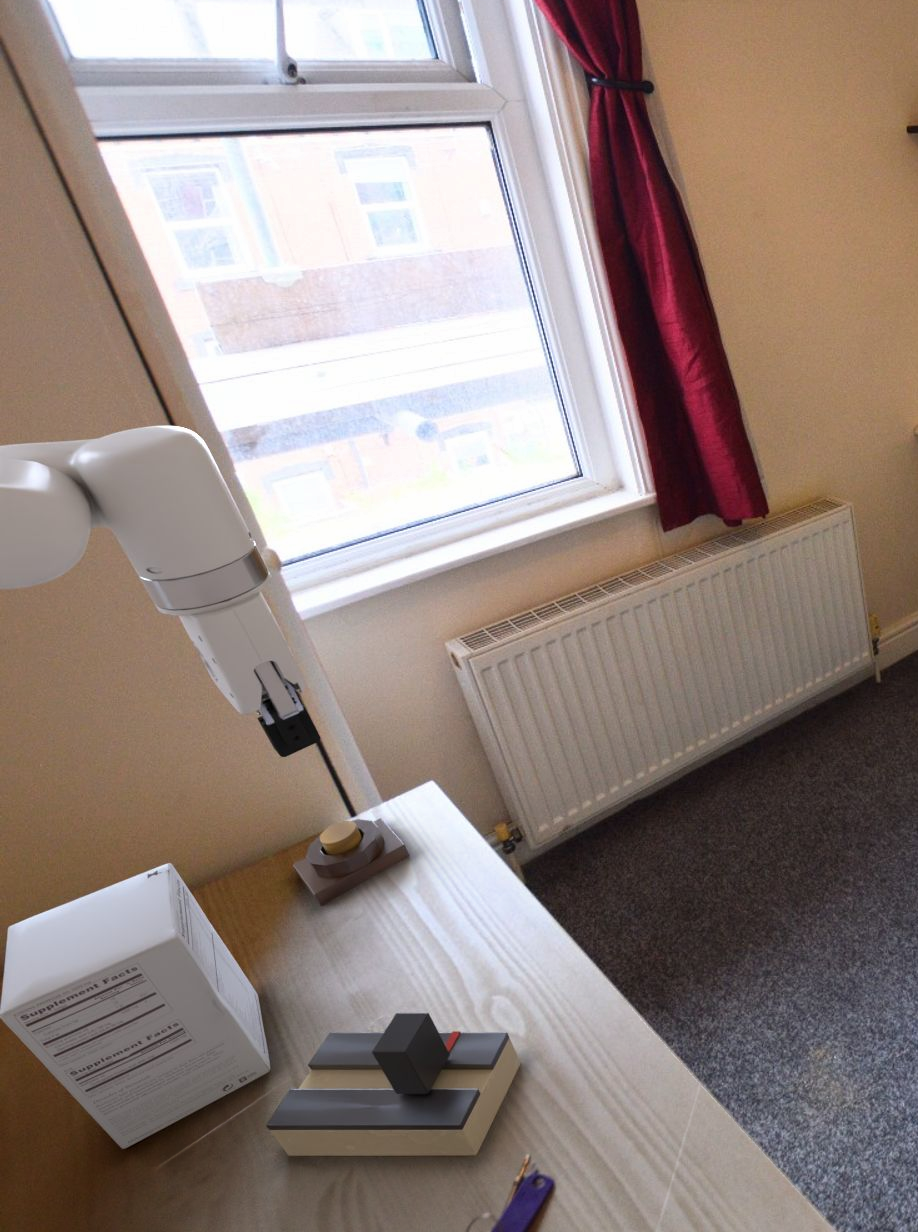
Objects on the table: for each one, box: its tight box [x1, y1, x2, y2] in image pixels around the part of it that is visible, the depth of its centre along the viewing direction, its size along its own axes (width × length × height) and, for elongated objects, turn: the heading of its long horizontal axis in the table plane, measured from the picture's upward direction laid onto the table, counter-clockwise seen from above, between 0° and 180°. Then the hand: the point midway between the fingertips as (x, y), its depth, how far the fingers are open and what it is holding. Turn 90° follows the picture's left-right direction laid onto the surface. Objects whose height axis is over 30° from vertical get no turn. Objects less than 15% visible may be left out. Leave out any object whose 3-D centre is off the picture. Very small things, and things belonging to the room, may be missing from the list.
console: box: [265, 1030, 521, 1157], centre depth 66 cm, size 14×7×4 cm, turn 90°
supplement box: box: [0, 862, 271, 1150], centre depth 66 cm, size 10×9×17 cm
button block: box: [292, 817, 411, 907], centre depth 87 cm, size 8×6×4 cm
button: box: [319, 820, 362, 856], centre depth 86 cm, size 3×3×2 cm
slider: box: [372, 1012, 450, 1094], centre depth 64 cm, size 2×3×6 cm
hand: (298, 745), depth 80 cm, fingers closed
